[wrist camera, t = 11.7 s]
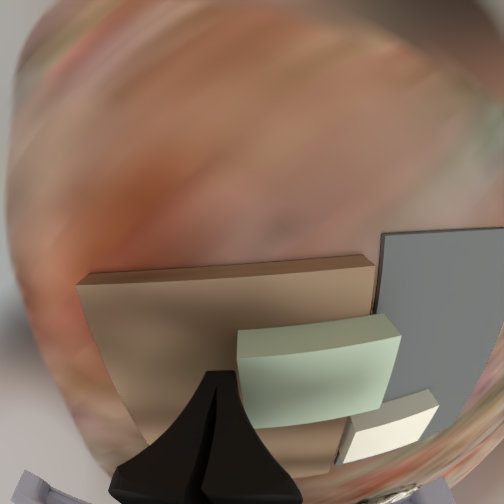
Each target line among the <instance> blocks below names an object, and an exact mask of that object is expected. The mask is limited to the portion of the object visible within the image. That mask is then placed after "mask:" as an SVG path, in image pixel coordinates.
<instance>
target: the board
mask: <svg viewBox="0 0 504 504" xmlns="http://www.w3.org/2000/svg"><path fill="white" fill-rule="evenodd" d="M374 275H375V265H374V264H373V263H372V262H371V261H369V260H368V259H367V258H366V257H365V256H364V255H354V256H342V257H330V258H317V259H304V260H292V261H279V262H265V263H252V264H238V265H223V266H209V267H194V268H178V269H162V270H146V271H129V272H112V273H93V274H88V275H87V276H86V277H85V278H83V279H82V280H81V281H80V282H78V283H77V284H76V285H75V286H76V290H77V293H78V296H79V299H80V302H81V306H82V309H83V311H84V314H85V317H86V320H87V323H88V325H89V328H90V331H91V333H92V336H93V339H94V341H95V343H96V346H97V348H98V351H99V353H100V355H101V358H102V360H103V362H104V364H105V367H106V369H107V371H108V373H109V375H110V377H111V379H112V381H113V384H114V386H115V388H116V389H117V391H118V393H119V395H120V397H121V399H122V401H123V403H124V405H125V406H126V408H127V410H128V412H129V414H130V415H131V417H132V419H133V421H134V422H135V424H136V426H137V427H138V429H139V431H140V432H141V434H142V435H143V437H144V438H145V440H146V442H147V443H148V445H149V446H150V445H151V444H152V443H153V442H154V441H155V440H157V439H158V438H159V437H160V436H161V435H162V434H163V433H164V432H165V431H166V430H167V429H168V428H169V427H170V426H171V424H172V423H173V422H174V421H175V420H176V419H177V417H178V416H179V415H180V413H181V412H182V411H183V409H184V408H185V407H186V405H187V404H188V402H189V401H190V399H191V398H192V396H193V394H194V393H195V391H196V389H197V388H198V386H199V384H200V382H201V380H202V378H203V376H204V374H205V372H207V371H217V370H234V371H235V372H236V378H237V384H238V391H239V396H240V399H241V402H242V405H243V407H244V403H243V397H242V391H241V384H240V378H239V371H238V365H237V337H238V330H250V329H263V328H275V327H285V326H295V325H304V324H313V323H321V322H329V321H336V320H343V319H350V318H356V317H363V316H369V315H370V308H371V301H372V293H373V284H374ZM244 410H245V409H244ZM346 420H347V416H346V417H341V418H336V419H331V420H325V421H319V422H313V423H306V424H299V425H291V426H282V427H272V428H258V429H254V430H255V431H256V433H257V435H258V436H259V438H260V439H261V441H262V442H263V444H264V445H265V447H266V448H267V449H268V451H269V452H270V453H271V455H272V456H273V457H274V458H275V460H276V461H277V462H278V463H279V464H280V465H281V466H282V467H283V469H284V470H285V471H286V472H287V473H288V474H289V475H290V476H291V478H292V479H293V478H301V477H308V476H314V475H320V474H325V473H329V470H330V468H331V465H332V462H333V459H334V457H335V454H336V451H337V448H338V445H339V442H340V439H341V436H342V433H343V430H344V426H345V423H346Z"/></svg>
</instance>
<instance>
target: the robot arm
mask: <svg viewBox="0 0 504 504" xmlns="http://www.w3.org/2000/svg"><path fill="white" fill-rule="evenodd" d="M108 491H109V493H110V495H111V496H112V497H113V498H115V499H116V500H117V501H119V502H120V503H121V504H302V502H303V498H302V495H301V493H300V491H299V489H298V487H297V486H296V484H295V483H294V481H293V480H292V478H291V476H290V475H289V474H288V473H287V472H286V471H285V470H284V469H283V467H282V466H281V465H280V464H279V463H278V462H277V461H276V460H275V458H274V457H273V456H272V455H271V453H270V452H269V451H268V449H267V448H266V447H265V445H264V444H263V442H262V441H261V439H260V438H259V436H258V435H257V433H256V431H255V430H254V428H253V426H252V424H251V422H250V420H249V418H248V416H247V414H246V412H245V410H244V407H243V405H242V402H241V399H240V396H239V391H238V384H237V378H236V372H235V371H234V370H217V371H207V372H205V374H204V376H203V378H202V380H201V382H200V384H199V386H198V388H197V389H196V391H195V393H194V394H193V396H192V398H191V399H190V401H189V402H188V404H187V405H186V407H185V408H184V409H183V411H182V412H181V413H180V415H179V416H178V417H177V419H176V420H175V421H174V422H173V423H172V424H171V426H170V427H169V428H168V429H167V430H166V431H165V432H164V433H163V434H162V435H161V436H160V437H159V438H158V439H157V440H155V441H154V442H153V443H152V444H151V445H150V446H148V447H147V448H146V449H144V450H143V451H142V452H140V453H139V454H138V455H136V456H135V457H133V458H132V459H130V460H128V461H127V462H125V463H123V464H121V465H120V466H118V467H117V468H116V471H115V472H114V475H113V477H112V480H111V483H110V487H109V490H108ZM11 502H12V503H14V504H91V503H88V502H85V501H82V500H80V499H78V498H75V497H73V496H70V495H68V494H66V493H63V492H61V491H59V490H57V489H55V488H53V487H51V486H50V485H49V484H48V483H47V482H45V481H44V480H43V479H41V478H39V477H38V476H36V475H34V474H32V473H30V472H29V471H27V470H24V472H23V474H22V476H21V478H20V480H19V483H18V485H17V487H16V489H15V491H14V494H13V496H12V498H11ZM390 504H456V502H455V500H454V498H453V496H452V493H451V492H450V489H449V487H448V485H447V483H446V481H445V478H444V477H440V478H438V479H436V480H434V481H432V482H430V483H428V484H426V485H424V486H422V487H420V488H418V489H417V490H415V491H414V492H413V493H412V494H411V495H410V496H408V497H405V498H403V499H400V500H398V501H395V502H392V503H390Z"/></svg>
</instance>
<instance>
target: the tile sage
mask: <svg viewBox="0 0 504 504" xmlns="http://www.w3.org/2000/svg"><path fill="white" fill-rule="evenodd" d="M401 336H402V335H401V334H400V333H399V331H398V330H397V329H396V328H395V326H394V325H393V324H392V323H391V322H390V320H389V319H388V318H387V317H386V315H385V314H384V313H381V314H375V315H369V316H363V317H356V318H350V319H343V320H336V321H329V322H321V323H313V324H304V325H295V326H285V327H275V328H263V329H250V330H238V337H237V365H238V371H239V378H240V384H241V391H242V397H243V403H244V409H245V412H246V414H247V416H248V418H249V420H250V422H251V424H252V426H253V428H254V429H258V428H272V427H282V426H291V425H299V424H306V423H313V422H319V421H325V420H331V419H336V418H341V417H346V416H351V415H355V414H359V413H363V412H368V411H371V410H375V409H379V408H380V406H381V403H382V400H383V397H384V394H385V391H386V389H387V385H388V382H389V379H390V376H391V373H392V370H393V366H394V363H395V359H396V356H397V352H398V348H399V344H400V340H401Z"/></svg>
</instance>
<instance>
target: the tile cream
mask: <svg viewBox="0 0 504 504" xmlns="http://www.w3.org/2000/svg"><path fill="white" fill-rule="evenodd" d="M438 407H439V404H438V402H437V401H436V399H435V398H434V396H433V395H432V393H431V392H430V390H429V389H426V390H423V391H420V392H417V393H414V394H411V395H408V396H405V397H402V398H399V399H395V400H392V401H388V402H385V403H381V406H380V408H379V409H375V410H371V411H368V412H363V413H359V414H355V415H351V416H347V420H346V423H345V426H344V430H343V433H342V436H341V439H340V442H339V445H338V449H339V452H340V456H341V459H342V463H347V462H352V461H356V460H360V459H364V458H367V457H371V456H374V455H378V454H381V453H384V452H387V451H390V450H393V449H396V448H399V447H402V446H405V445H407V444H410V443H413V442H415V441H418V439H419V438H420V436H421V435H422V433H423V432H424V430H425V429H426V427H427V425H428V424H429V422H430V421H431V419H432V417H433V416H434V414H435V412H436V410H437V409H438Z"/></svg>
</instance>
